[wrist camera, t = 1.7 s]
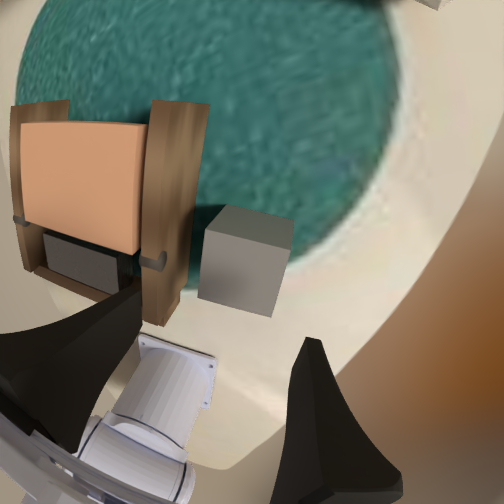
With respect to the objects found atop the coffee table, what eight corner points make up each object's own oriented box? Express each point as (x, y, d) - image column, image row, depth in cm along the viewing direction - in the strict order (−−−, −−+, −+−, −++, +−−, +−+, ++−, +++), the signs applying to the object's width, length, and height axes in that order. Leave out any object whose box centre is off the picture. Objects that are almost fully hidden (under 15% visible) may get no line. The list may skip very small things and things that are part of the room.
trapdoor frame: (187, 291, 22) (158, 338, 18) (63, 250, 23) (25, 279, 18) (211, 104, 16) (172, 101, 11) (61, 100, 17) (9, 106, 12)
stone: (278, 278, 21) (271, 317, 17) (217, 262, 21) (197, 297, 17) (294, 220, 19) (290, 250, 15) (227, 203, 19) (205, 229, 15)
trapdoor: (151, 287, 19) (134, 308, 17) (52, 252, 20) (33, 266, 18) (161, 123, 14) (138, 125, 12) (46, 118, 15) (20, 123, 13)
